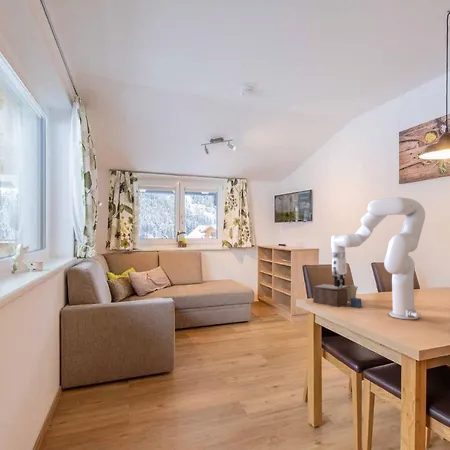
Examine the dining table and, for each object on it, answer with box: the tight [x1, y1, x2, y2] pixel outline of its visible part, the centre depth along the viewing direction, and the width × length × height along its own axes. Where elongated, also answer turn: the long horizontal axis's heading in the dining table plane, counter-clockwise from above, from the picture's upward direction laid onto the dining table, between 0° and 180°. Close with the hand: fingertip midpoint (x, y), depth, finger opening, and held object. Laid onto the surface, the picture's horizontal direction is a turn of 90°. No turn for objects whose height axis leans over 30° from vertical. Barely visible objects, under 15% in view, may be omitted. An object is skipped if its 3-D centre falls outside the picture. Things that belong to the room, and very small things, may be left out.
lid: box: [312, 279, 349, 290], centre depth 185 cm, size 17×13×5 cm
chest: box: [312, 287, 349, 307], centre depth 185 cm, size 16×13×9 cm
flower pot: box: [344, 284, 359, 302], centre depth 192 cm, size 9×9×9 cm
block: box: [349, 297, 363, 309], centre depth 175 cm, size 4×4×4 cm
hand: (339, 285), depth 181 cm, fingers closed on lid, 5 cm apart
